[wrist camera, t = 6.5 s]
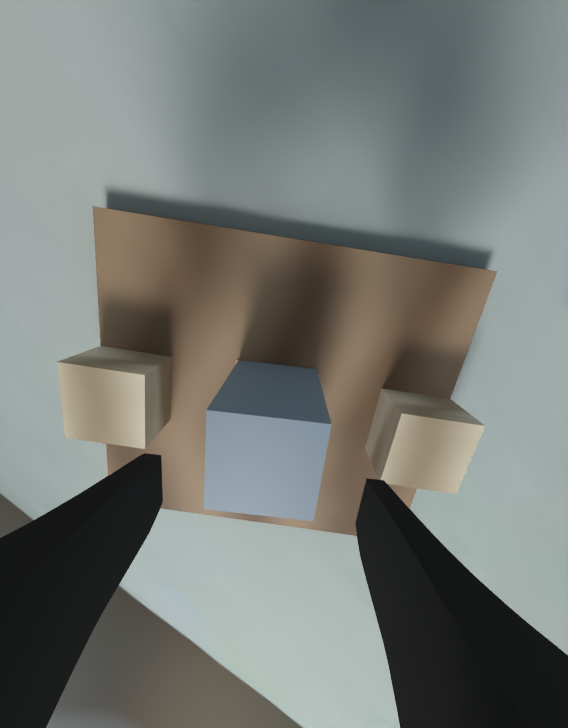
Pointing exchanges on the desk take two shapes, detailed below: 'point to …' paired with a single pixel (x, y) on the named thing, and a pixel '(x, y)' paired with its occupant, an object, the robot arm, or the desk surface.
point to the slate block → (266, 442)
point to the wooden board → (275, 355)
